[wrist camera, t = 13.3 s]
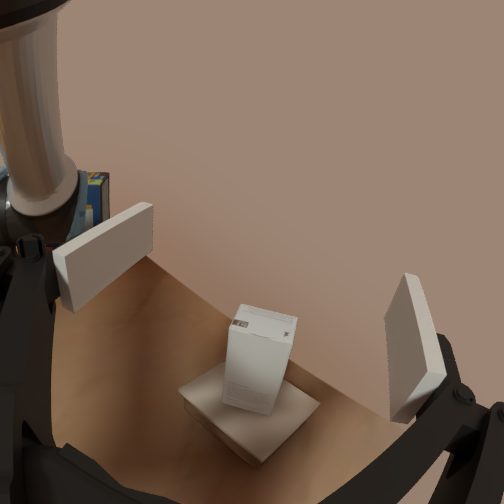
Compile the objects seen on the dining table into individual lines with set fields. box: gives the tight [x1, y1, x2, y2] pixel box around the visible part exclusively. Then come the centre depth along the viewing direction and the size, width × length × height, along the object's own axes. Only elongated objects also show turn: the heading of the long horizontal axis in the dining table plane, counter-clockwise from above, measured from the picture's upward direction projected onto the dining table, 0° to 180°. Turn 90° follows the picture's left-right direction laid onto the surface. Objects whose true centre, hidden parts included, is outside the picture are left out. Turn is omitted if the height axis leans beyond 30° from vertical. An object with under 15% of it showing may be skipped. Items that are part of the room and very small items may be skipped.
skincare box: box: [221, 304, 298, 416], centre depth 32 cm, size 6×4×12 cm
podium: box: [178, 360, 320, 469], centre depth 35 cm, size 13×11×4 cm
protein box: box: [45, 172, 110, 247], centre depth 67 cm, size 10×15×16 cm
